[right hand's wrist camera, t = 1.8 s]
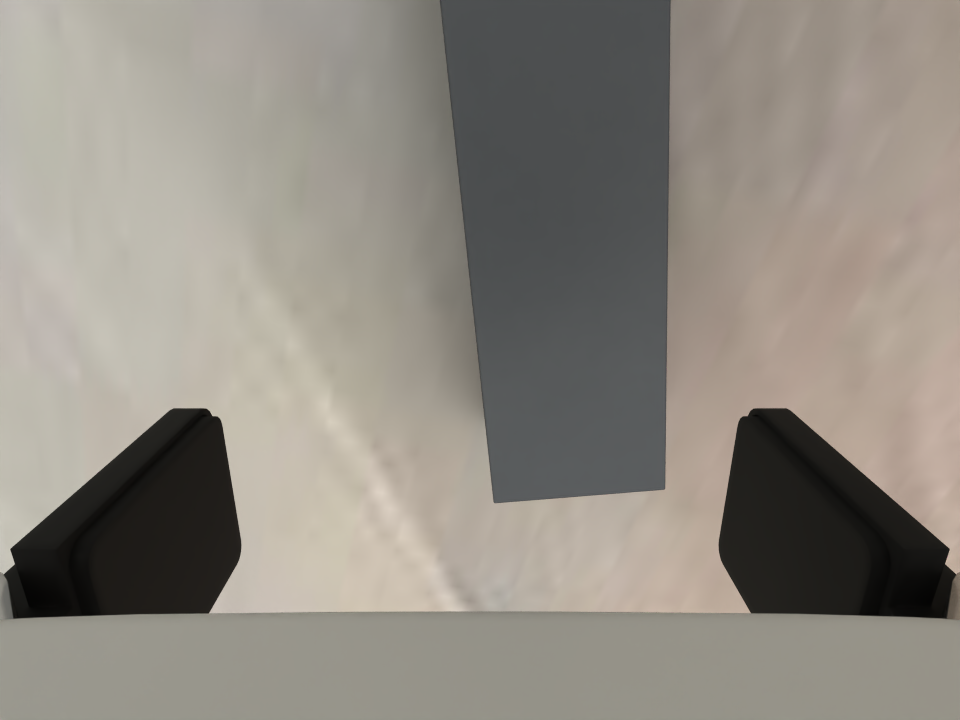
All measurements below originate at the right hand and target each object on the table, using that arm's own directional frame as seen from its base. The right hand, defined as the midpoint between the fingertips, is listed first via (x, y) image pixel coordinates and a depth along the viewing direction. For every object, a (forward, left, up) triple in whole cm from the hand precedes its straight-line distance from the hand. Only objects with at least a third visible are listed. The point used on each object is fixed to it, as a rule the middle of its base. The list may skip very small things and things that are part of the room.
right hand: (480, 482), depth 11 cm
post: (-6, -29, -15) cm, 33 cm away
